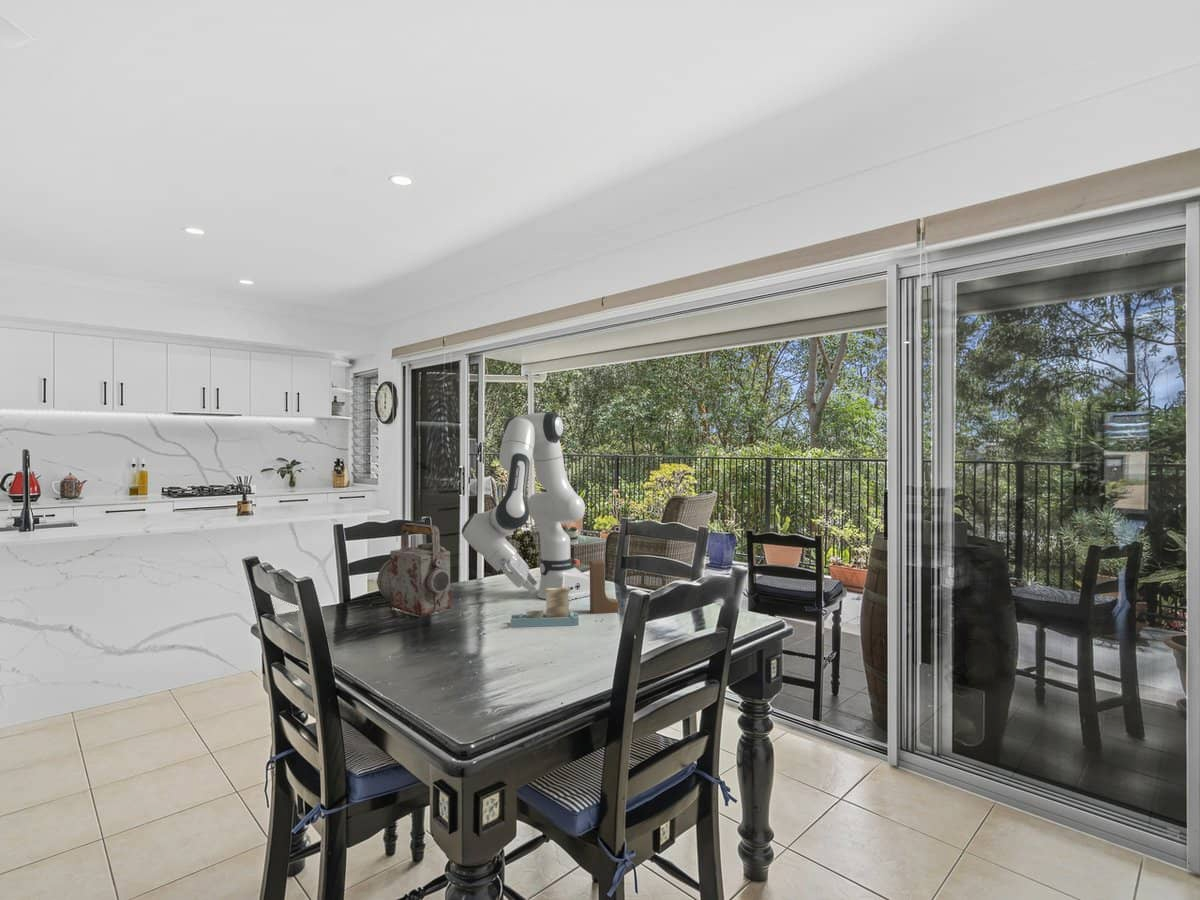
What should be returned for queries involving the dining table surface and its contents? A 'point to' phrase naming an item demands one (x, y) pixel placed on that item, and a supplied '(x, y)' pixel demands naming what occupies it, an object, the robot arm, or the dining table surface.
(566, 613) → the beige rectangular slab
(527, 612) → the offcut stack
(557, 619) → the rack
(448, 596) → the lantern
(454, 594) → the dining table surface
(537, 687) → the dining table surface
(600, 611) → the wooden block
